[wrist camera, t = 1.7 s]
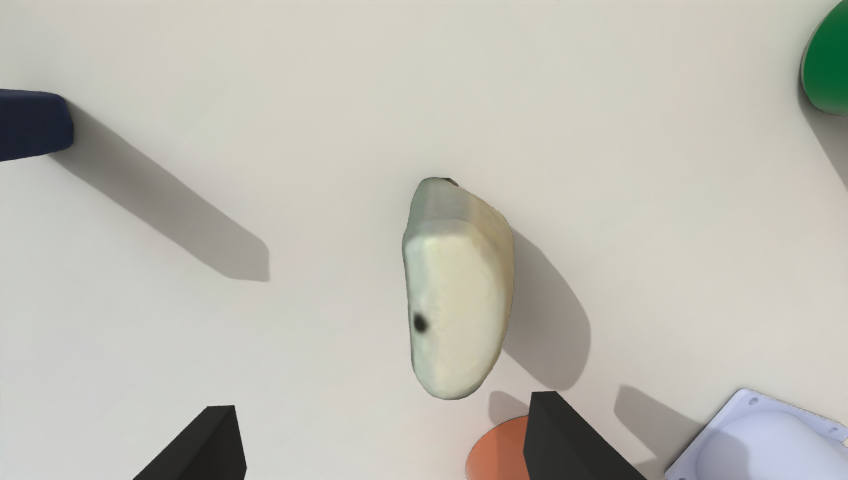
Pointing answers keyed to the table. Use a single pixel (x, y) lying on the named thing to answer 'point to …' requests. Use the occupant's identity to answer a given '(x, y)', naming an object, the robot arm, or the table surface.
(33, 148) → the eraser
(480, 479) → the plant
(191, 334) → the table surface
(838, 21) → the soda can
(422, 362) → the pale green rounded block
